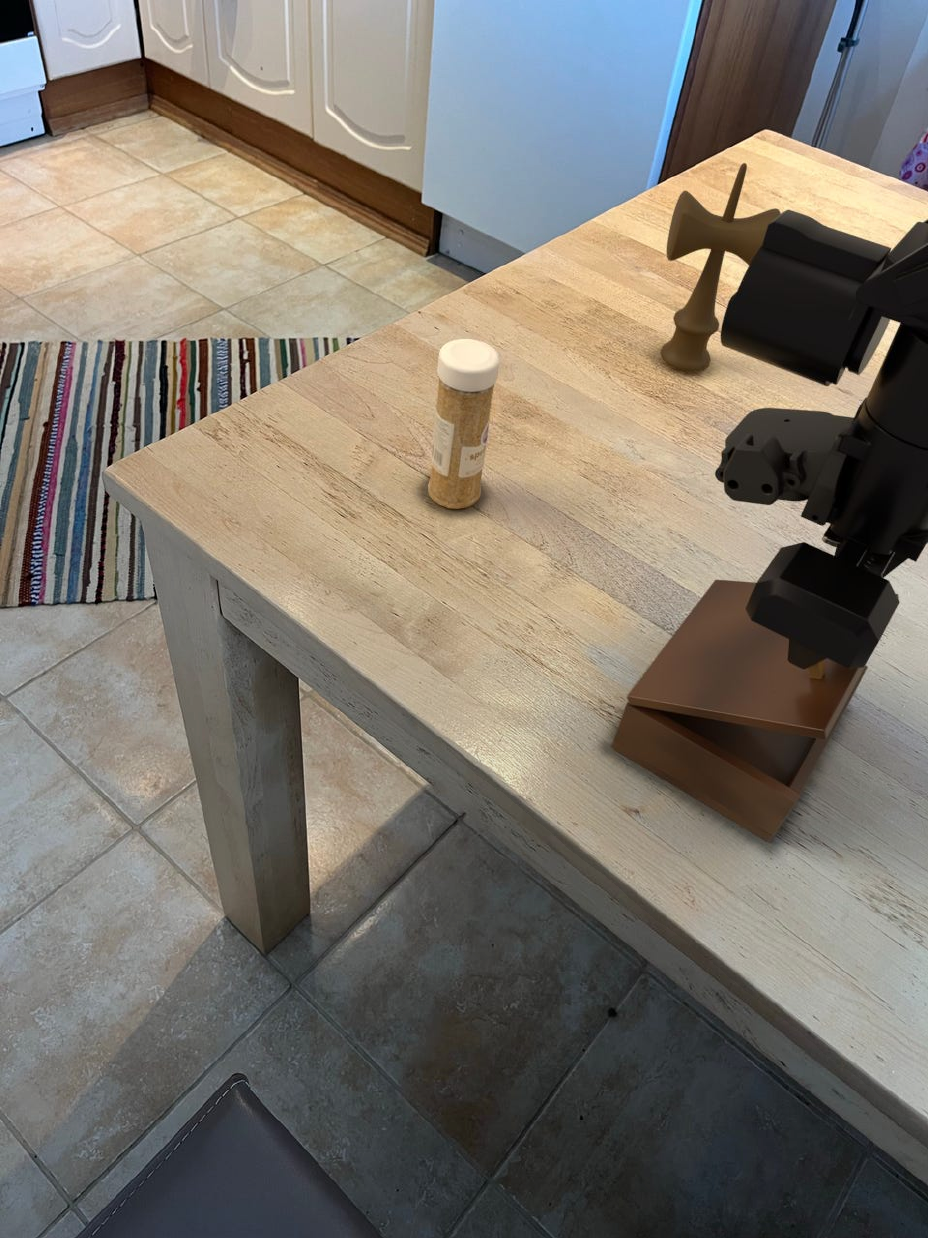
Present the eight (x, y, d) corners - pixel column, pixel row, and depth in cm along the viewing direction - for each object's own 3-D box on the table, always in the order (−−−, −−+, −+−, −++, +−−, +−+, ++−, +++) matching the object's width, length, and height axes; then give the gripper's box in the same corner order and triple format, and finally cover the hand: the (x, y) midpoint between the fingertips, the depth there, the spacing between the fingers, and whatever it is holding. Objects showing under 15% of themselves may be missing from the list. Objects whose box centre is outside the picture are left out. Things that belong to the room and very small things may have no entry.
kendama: (637, 339, 100) (689, 140, 85) (729, 354, 99) (796, 158, 84) (636, 370, 95) (690, 167, 81) (731, 386, 95) (802, 185, 80)
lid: (899, 602, 60) (893, 541, 58) (826, 740, 52) (816, 675, 50) (717, 587, 68) (706, 533, 66) (628, 704, 60) (612, 647, 58)
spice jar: (481, 512, 78) (502, 372, 69) (426, 509, 78) (439, 368, 68) (479, 477, 82) (498, 337, 72) (426, 474, 81) (438, 333, 71)
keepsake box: (840, 708, 68) (868, 666, 64) (769, 843, 60) (796, 803, 56) (696, 631, 72) (714, 587, 68) (610, 747, 64) (626, 704, 60)
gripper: (831, 290, 54) (751, 502, 65) (691, 440, 43) (624, 663, 54) (1032, 361, 50) (910, 573, 61) (935, 546, 39) (807, 763, 50)
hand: (814, 634), depth 57 cm, fingers closed on lid, 5 cm apart
